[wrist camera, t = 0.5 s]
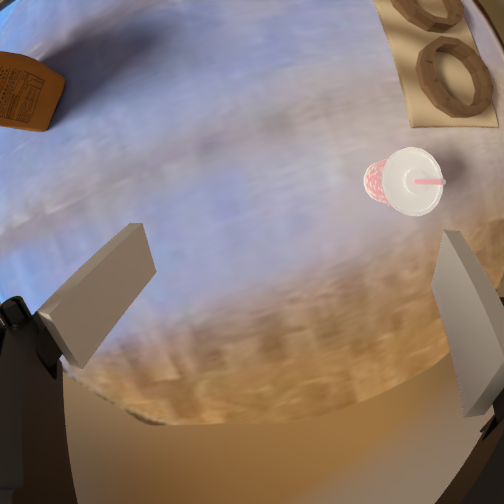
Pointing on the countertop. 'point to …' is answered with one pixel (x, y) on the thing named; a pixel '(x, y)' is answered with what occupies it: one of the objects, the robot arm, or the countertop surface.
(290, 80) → the countertop surface
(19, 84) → the coffee package
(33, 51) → the countertop surface
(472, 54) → the socket board
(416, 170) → the beverage cup
